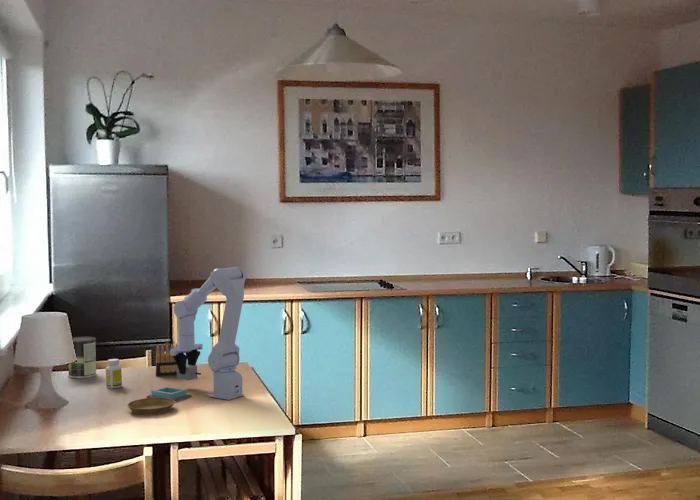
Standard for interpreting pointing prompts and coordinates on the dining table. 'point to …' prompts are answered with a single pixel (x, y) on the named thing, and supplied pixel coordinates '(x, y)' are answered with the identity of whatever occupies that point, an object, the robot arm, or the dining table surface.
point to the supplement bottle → (113, 374)
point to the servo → (188, 373)
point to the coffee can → (83, 358)
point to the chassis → (169, 393)
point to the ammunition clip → (165, 362)
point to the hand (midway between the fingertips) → (187, 372)
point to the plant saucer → (151, 405)
